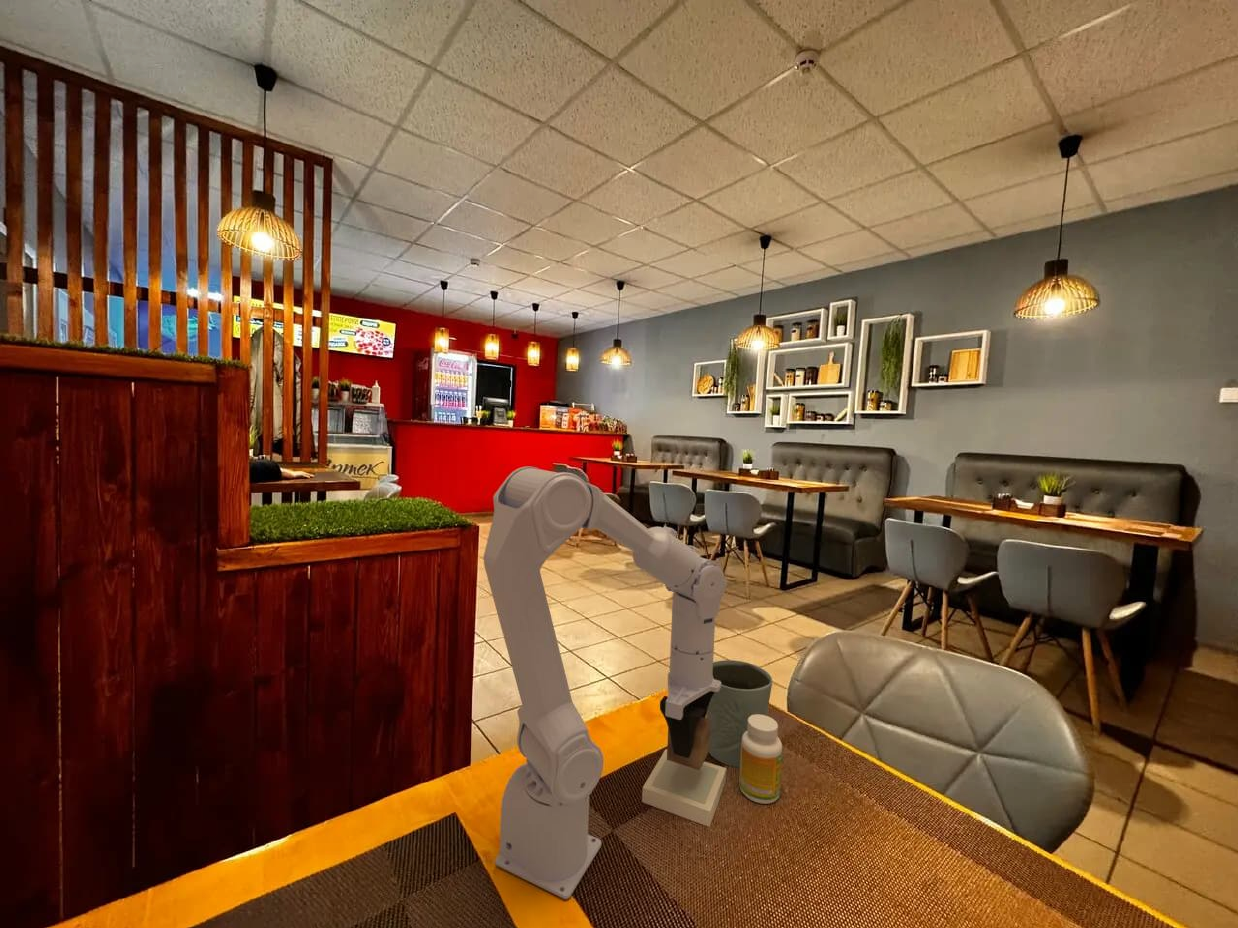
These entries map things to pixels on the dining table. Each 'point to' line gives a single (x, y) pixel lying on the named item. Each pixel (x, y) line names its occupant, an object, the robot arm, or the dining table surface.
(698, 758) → the walnut block
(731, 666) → the green plant pot
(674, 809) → the tile base
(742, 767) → the supplement bottle
